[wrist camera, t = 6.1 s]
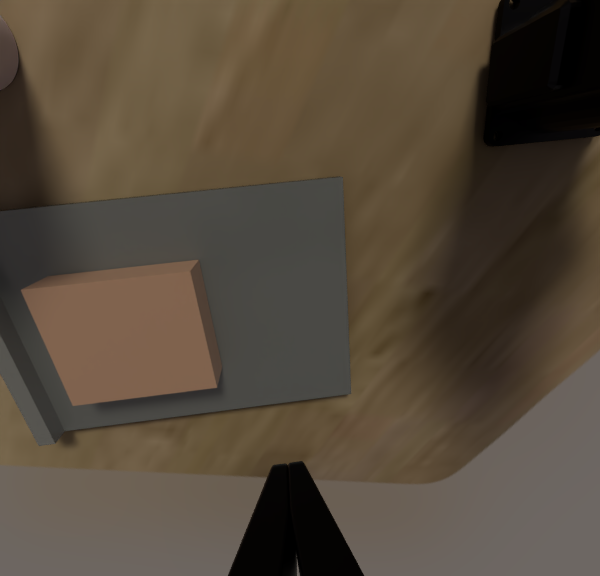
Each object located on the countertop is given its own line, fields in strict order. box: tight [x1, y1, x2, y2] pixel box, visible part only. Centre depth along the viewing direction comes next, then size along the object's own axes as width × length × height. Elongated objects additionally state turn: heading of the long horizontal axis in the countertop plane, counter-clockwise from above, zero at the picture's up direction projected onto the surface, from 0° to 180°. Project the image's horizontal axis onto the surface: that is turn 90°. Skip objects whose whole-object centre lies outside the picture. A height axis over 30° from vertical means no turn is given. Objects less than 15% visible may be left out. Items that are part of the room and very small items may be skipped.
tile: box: [21, 260, 222, 406], centre depth 18 cm, size 2×7×8 cm
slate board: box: [0, 176, 351, 446], centre depth 19 cm, size 20×14×2 cm
